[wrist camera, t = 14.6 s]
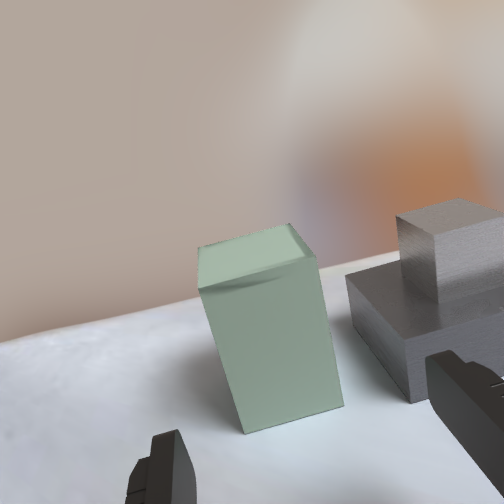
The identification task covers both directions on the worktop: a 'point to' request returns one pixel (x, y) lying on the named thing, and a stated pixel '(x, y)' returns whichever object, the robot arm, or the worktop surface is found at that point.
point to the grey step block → (435, 293)
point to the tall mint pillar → (270, 326)
